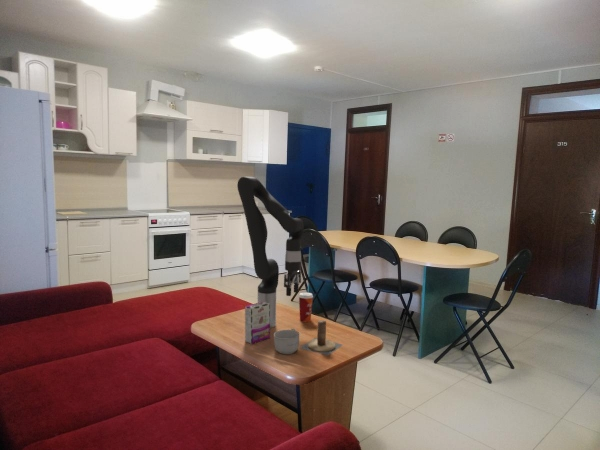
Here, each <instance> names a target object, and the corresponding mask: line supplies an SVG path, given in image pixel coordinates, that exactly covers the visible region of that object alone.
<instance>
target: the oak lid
mask: <svg viewBox="0 0 600 450" xmlns="http://www.w3.org/2000/svg"><path fill="white" fill-rule="evenodd" d="M326 331H327V321H326V320H324V319H323V320H318V321H317V337H316V338H317V339H314V338H313V339H314V340H313V339H311V340H309V341H308V342H307V343H308V348H309V349H311V350H313V351H318V352H328V351H332V350H334V349H335V343H336V342H334V341H332V340H329V339H326V338H327V337H326V336H327V335H326V333H327V332H326Z"/></svg>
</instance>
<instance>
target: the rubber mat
mask: <svg viewBox="0 0 600 450" xmlns="http://www.w3.org/2000/svg"><path fill="white" fill-rule="evenodd" d="M314 339H317V337H314V338H313V339H312V340H314ZM334 343H335V349H334V350H332V351H328V352H318V351H313V350H311V349H309V348H308V342H306V343H305V344H303V345H302V346H299V349H302V350H305V351H309V352H312V353H316V354H320V355H325V356H330V355H331V354H333V352H335V351H336V350H338V349H340V347H342V346H343V343H342V344H341V343H338V342H334Z"/></svg>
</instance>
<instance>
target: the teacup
mask: <svg viewBox="0 0 600 450" xmlns="http://www.w3.org/2000/svg"><path fill="white" fill-rule="evenodd" d="M273 340H274V341H273V344H274V349H275V350H276V351H277V352H278V353H280V354H282V355H291V354H294V353H296V351H298V350H299V349H300V333H299V331H298V330H296V329H295V328H291V329H281V330H277V331H275V332H274V333H273Z"/></svg>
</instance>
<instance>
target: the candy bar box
mask: <svg viewBox="0 0 600 450" xmlns="http://www.w3.org/2000/svg"><path fill="white" fill-rule="evenodd" d="M244 329H245V330H244V334H245V335H244V337H245V339H244V341H245V342H246V343H247V342H248V344H250V345H253V344H257V343H259V342H262V341H265V340H268V339H270V338H271V335H270V334H271V333H270V332H271V328H270V303H267V302H259V303H258V302H256V303H253V304H249V305H245V306H244Z"/></svg>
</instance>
